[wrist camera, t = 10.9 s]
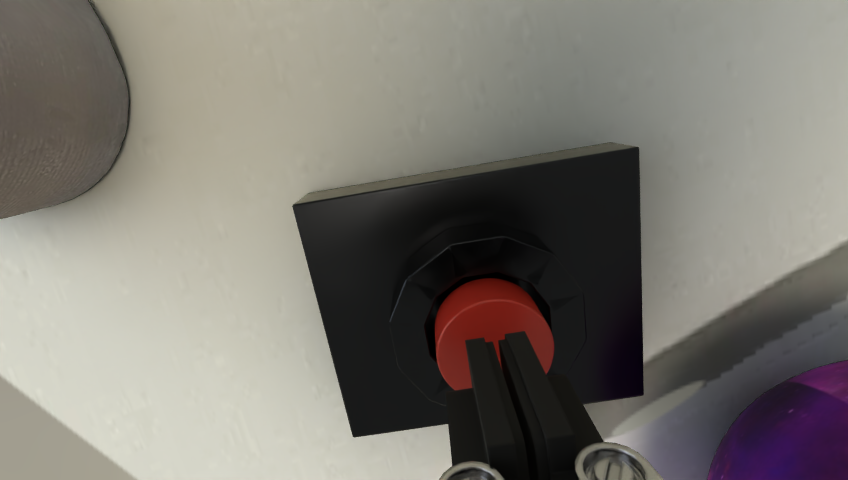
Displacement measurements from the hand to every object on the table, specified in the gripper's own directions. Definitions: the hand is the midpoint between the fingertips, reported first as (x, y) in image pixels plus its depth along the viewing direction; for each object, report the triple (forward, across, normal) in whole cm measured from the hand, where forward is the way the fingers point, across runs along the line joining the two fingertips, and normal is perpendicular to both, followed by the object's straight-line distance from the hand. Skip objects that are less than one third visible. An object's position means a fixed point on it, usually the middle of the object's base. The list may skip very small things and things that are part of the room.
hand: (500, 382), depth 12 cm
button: (+3, 0, 0) cm, 3 cm away
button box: (+7, 0, 0) cm, 7 cm away
